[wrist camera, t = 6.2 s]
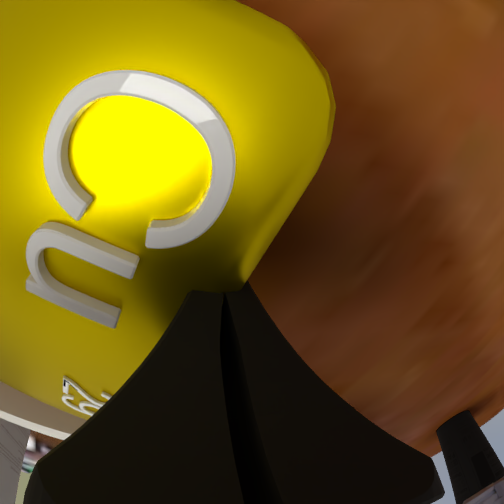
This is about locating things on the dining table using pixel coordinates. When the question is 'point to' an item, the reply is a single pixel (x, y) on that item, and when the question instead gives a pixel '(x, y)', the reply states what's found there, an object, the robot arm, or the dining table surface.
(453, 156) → the dining table surface
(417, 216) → the dining table surface
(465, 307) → the dining table surface
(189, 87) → the element tile
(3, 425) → the supplement box
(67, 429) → the white l-shaped strip
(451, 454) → the drinking cup
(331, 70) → the dining table surface
